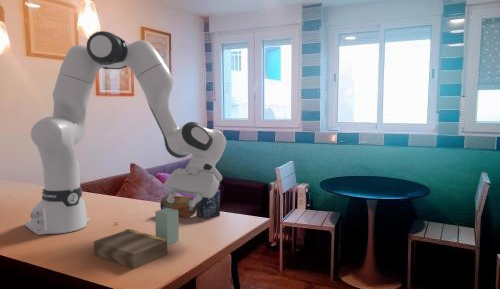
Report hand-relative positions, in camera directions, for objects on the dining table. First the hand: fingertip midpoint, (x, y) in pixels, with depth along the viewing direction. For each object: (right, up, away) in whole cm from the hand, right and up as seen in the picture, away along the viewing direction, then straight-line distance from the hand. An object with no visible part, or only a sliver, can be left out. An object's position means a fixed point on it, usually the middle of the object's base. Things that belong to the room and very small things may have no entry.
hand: (179, 203), depth 120 cm
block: (-3, -11, -4) cm, 12 cm away
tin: (-5, -9, +23) cm, 25 cm away
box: (+6, -9, +24) cm, 27 cm away
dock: (-11, -12, -14) cm, 22 cm away
